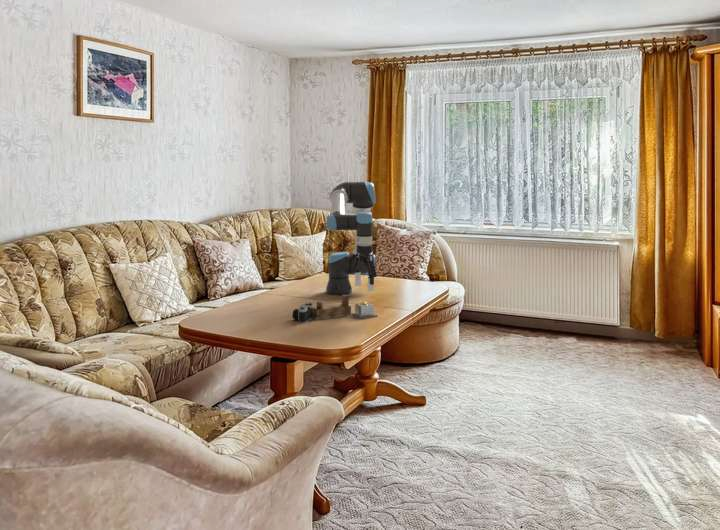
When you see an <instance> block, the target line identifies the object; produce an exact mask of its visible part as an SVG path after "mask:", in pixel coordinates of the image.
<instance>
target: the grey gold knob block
mask: <svg viewBox="0 0 720 530" xmlns="http://www.w3.org/2000/svg"><path fill="white" fill-rule="evenodd" d="M354 313H355V314H357V315H359V316H369V315H374V314H375V304H373V303H370V302H368V301H362V302H358V303H357V302H356V303H354Z"/></svg>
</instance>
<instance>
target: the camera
mask: <svg viewBox="0 0 720 530" xmlns="http://www.w3.org/2000/svg"><path fill="white" fill-rule="evenodd" d="M313 308H314V305H313V303H312V302H302V303H300V305H299V306H298V308H295V309H293V311H292V319H294V321H299V323H300V324H306V323H308V322H309V321H310V320H312V319H314V318H313Z"/></svg>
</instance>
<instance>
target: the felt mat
mask: <svg viewBox="0 0 720 530" xmlns="http://www.w3.org/2000/svg"><path fill="white" fill-rule="evenodd" d="M351 314H352V315H351V316H355V318H358V319H361V320H362V319H369V318H377V317H378V315H377V314H375V313H374V315H369V316H359V315H357V314H355V312H351Z"/></svg>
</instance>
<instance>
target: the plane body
mask: <svg viewBox="0 0 720 530" xmlns="http://www.w3.org/2000/svg"><path fill="white" fill-rule="evenodd" d="M349 298H350V297H349V295H348V294H343V295H341V304H336V305H328V306H323V302H324V301H317V302H316V306H315V307H313V318H312V319H315V320H323V319H333V318H339V317H347V316H353V315H352V306H351V305H349V304H350V303H349V301H350V299H349Z"/></svg>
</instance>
